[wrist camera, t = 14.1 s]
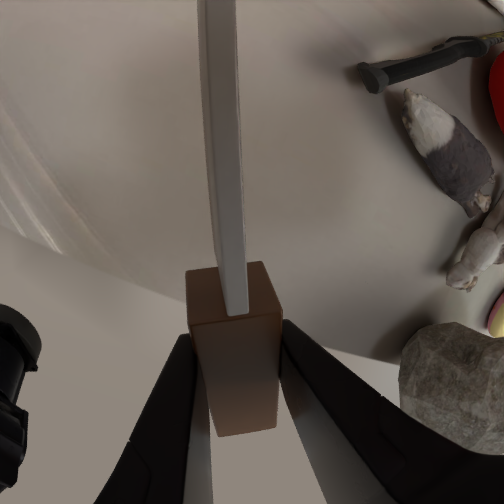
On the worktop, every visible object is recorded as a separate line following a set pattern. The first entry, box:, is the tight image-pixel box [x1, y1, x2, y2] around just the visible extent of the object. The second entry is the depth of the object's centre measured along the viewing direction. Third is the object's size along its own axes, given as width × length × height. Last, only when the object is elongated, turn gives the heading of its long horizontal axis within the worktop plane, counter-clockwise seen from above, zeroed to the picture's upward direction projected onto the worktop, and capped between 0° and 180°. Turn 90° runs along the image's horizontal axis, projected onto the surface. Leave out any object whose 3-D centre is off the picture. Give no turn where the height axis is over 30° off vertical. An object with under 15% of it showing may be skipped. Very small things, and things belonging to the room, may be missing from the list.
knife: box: [357, 31, 504, 94], centre depth 14 cm, size 23×2×5 cm, turn 118°
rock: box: [398, 322, 504, 455], centre depth 24 cm, size 15×18×15 cm
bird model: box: [401, 88, 496, 218], centre depth 18 cm, size 4×17×5 cm, turn 57°
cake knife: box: [185, 0, 283, 437], centre depth 6 cm, size 14×2×2 cm, turn 2°
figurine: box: [446, 191, 504, 292], centre depth 23 cm, size 4×16×15 cm
